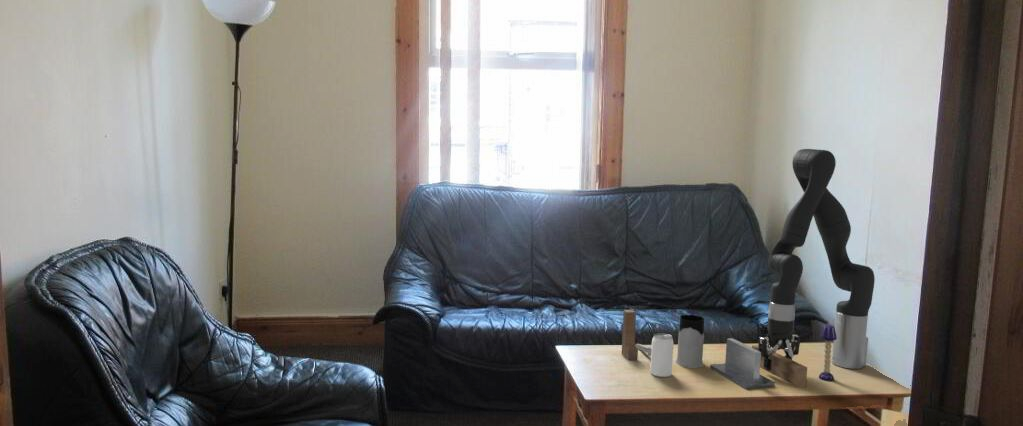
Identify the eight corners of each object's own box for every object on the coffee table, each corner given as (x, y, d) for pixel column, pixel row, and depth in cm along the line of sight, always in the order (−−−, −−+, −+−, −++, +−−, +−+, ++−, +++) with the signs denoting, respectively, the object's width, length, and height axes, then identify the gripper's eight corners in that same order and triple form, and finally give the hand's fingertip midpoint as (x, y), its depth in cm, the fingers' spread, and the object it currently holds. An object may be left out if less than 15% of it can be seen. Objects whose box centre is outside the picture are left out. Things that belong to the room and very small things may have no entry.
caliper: (657, 366, 215) (658, 347, 214) (654, 366, 214) (655, 347, 214) (637, 346, 235) (638, 328, 234) (634, 346, 235) (635, 328, 234)
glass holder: (673, 365, 216) (676, 319, 214) (680, 352, 229) (682, 309, 227) (701, 369, 212) (704, 322, 211) (707, 356, 225) (709, 312, 224)
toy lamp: (826, 382, 204) (831, 328, 202) (813, 377, 208) (817, 324, 206) (837, 379, 206) (841, 326, 204) (823, 374, 210) (828, 322, 208)
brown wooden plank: (750, 363, 220) (752, 345, 220) (758, 362, 221) (759, 344, 220) (797, 387, 199) (798, 368, 199) (805, 387, 200) (807, 367, 200)
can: (673, 372, 209) (675, 334, 207) (669, 379, 203) (671, 340, 201) (652, 369, 211) (654, 331, 210) (647, 375, 206) (649, 337, 204)
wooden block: (621, 353, 226) (623, 309, 224) (630, 353, 226) (632, 309, 224) (628, 360, 219) (630, 315, 217) (637, 359, 220) (640, 314, 218)
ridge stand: (737, 365, 216) (739, 335, 215) (774, 386, 199) (777, 353, 198) (710, 368, 213) (712, 337, 212) (745, 389, 196) (748, 355, 195)
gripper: (792, 312, 214) (788, 363, 216) (753, 314, 210) (750, 366, 212) (809, 318, 207) (805, 371, 209) (769, 321, 202) (765, 375, 204)
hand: (777, 368), depth 210 cm, fingers open, 6 cm apart
